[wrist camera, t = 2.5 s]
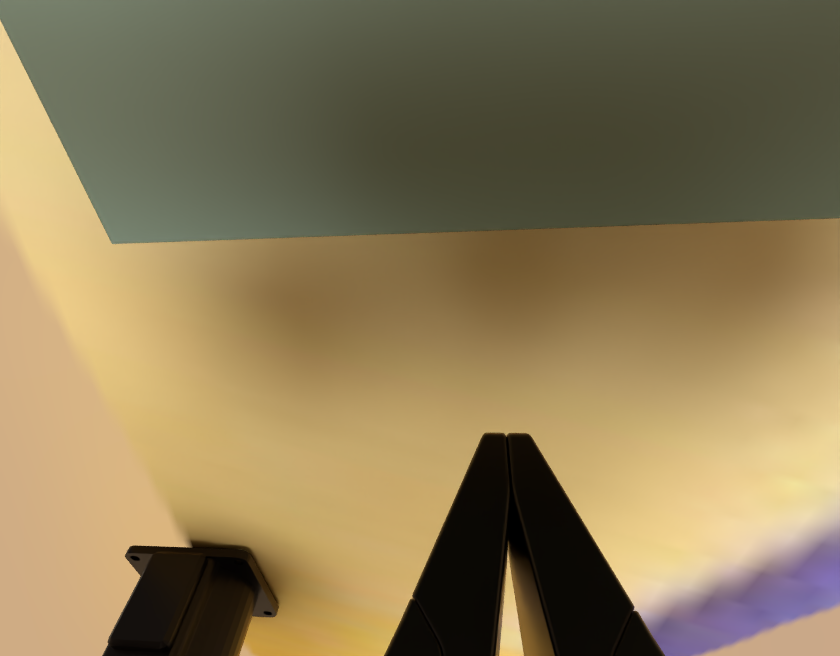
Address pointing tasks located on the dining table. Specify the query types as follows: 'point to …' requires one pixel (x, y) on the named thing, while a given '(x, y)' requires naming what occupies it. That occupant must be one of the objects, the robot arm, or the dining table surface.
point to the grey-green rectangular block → (437, 112)
